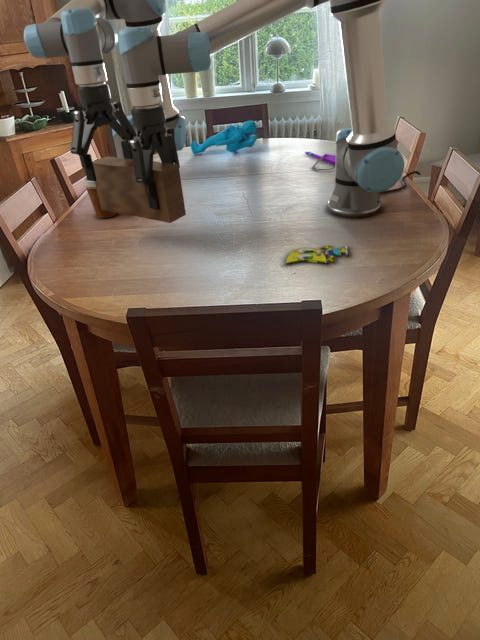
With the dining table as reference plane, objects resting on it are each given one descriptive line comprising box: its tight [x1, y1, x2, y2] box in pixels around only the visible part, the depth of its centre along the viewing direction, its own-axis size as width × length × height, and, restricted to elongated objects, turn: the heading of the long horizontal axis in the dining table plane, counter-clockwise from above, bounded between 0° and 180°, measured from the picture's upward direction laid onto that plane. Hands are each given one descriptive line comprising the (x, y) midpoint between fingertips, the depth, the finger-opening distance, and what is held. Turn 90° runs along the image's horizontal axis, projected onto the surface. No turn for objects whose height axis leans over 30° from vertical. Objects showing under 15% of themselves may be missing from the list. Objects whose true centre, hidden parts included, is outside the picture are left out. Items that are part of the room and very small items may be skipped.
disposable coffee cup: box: [83, 176, 117, 219], centre depth 152 cm, size 10×10×12 cm
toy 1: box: [189, 120, 258, 155], centre depth 209 cm, size 17×11×30 cm
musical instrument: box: [304, 151, 336, 171], centre depth 185 cm, size 24×2×20 cm
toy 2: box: [285, 244, 349, 266], centre depth 118 cm, size 10×1×15 cm
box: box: [92, 155, 186, 224], centre depth 125 cm, size 25×6×13 cm, turn 56°
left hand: (111, 173), depth 127 cm, fingers open, 13 cm apart
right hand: (163, 203), depth 122 cm, fingers closed on box, 6 cm apart
